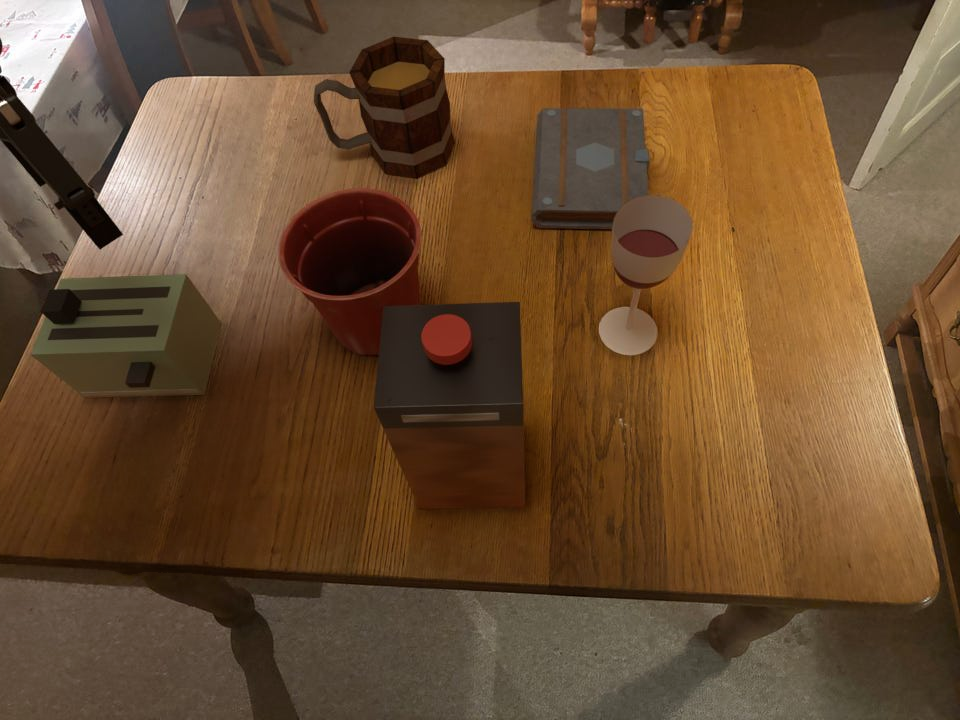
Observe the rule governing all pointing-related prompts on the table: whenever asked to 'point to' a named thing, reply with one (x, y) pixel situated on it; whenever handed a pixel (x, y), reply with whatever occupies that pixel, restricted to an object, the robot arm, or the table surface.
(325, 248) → the flower pot
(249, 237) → the table surface
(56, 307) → the slider
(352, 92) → the mug
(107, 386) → the toaster
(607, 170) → the book
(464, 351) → the timer button
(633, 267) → the wineglass
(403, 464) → the red button pedestal
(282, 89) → the table surface
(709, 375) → the table surface
